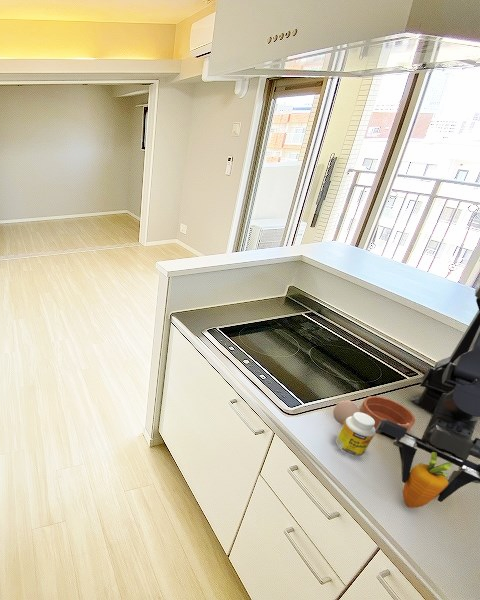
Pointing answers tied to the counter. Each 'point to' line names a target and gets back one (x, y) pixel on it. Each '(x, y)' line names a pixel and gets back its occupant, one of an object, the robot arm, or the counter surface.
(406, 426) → the bowl
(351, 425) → the supplement bottle
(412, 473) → the carrot
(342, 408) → the egg
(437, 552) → the counter surface
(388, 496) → the counter surface
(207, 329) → the counter surface
